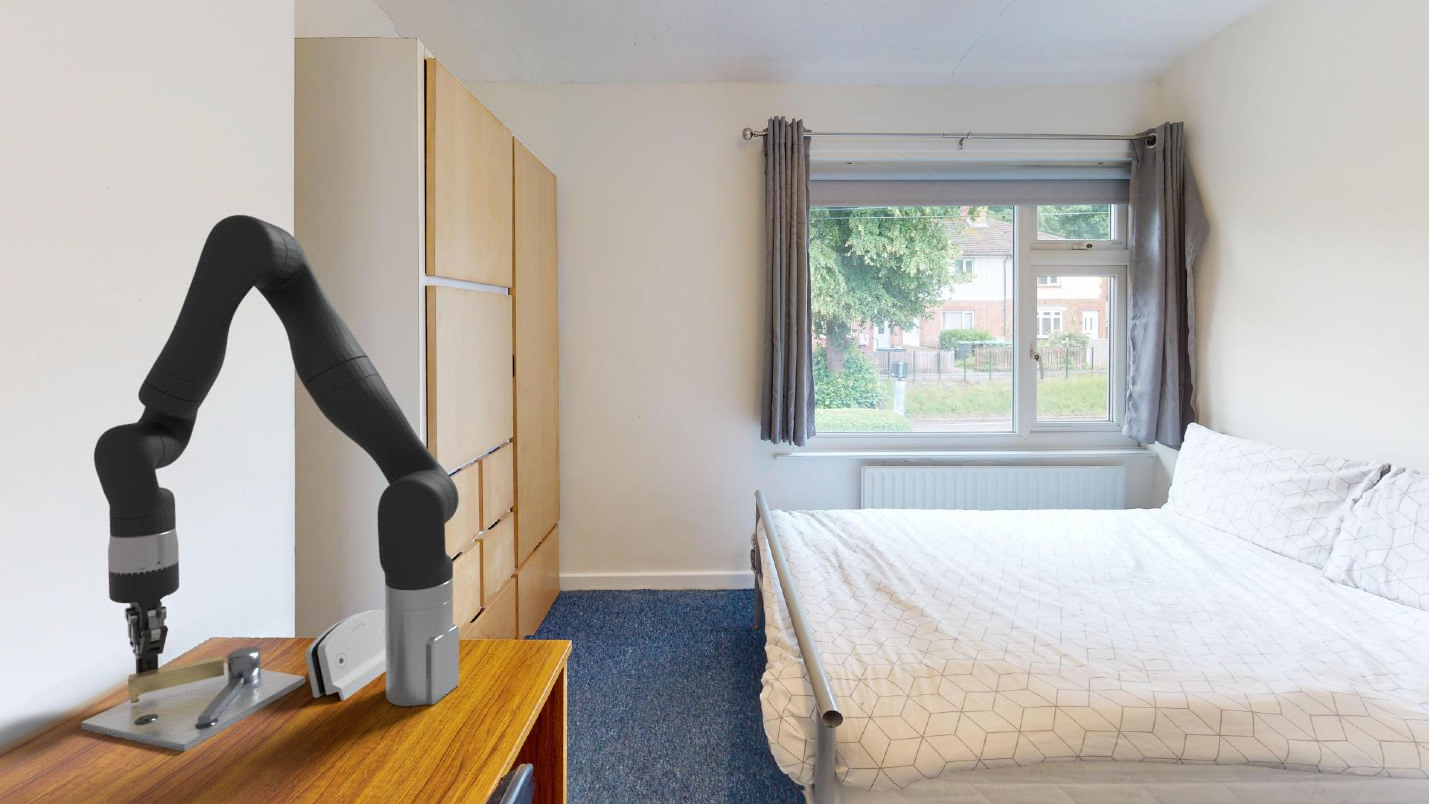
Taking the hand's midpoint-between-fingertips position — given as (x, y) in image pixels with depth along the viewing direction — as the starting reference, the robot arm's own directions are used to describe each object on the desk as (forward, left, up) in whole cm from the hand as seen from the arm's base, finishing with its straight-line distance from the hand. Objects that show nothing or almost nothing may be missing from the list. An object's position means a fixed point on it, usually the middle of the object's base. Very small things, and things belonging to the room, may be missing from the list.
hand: (147, 679), depth 94 cm
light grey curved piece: (-22, -15, -3) cm, 27 cm away
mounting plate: (-8, -1, -3) cm, 9 cm away
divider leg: (-4, -1, -2) cm, 5 cm away
